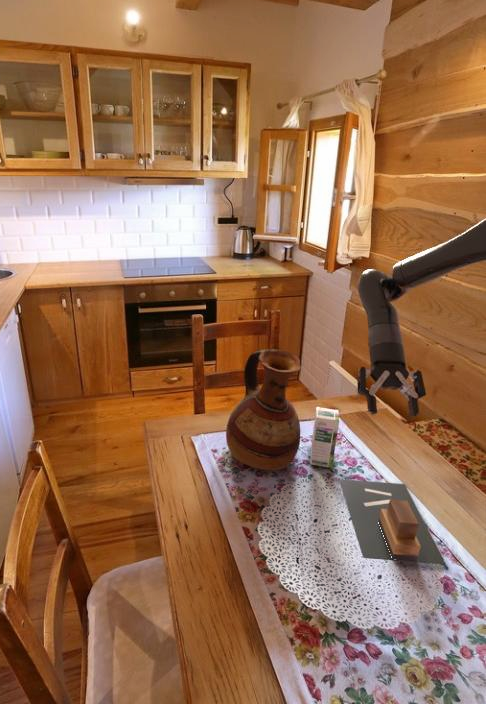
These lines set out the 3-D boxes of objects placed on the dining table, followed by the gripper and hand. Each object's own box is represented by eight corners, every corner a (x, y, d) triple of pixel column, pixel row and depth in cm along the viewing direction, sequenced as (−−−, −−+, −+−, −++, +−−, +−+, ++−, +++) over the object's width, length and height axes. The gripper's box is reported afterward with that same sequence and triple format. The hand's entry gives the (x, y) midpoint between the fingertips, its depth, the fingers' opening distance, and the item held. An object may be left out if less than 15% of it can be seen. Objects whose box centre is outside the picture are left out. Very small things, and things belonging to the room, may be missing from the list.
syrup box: (309, 464, 107) (316, 417, 102) (310, 451, 112) (316, 405, 107) (331, 469, 105) (339, 421, 100) (331, 454, 111) (338, 408, 106)
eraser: (400, 524, 88) (407, 495, 85) (416, 561, 80) (425, 530, 77) (377, 523, 88) (384, 493, 86) (392, 559, 80) (399, 528, 77)
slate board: (403, 486, 100) (404, 484, 100) (445, 567, 80) (446, 564, 79) (338, 481, 101) (339, 479, 101) (362, 560, 80) (363, 557, 80)
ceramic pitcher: (261, 490, 97) (271, 379, 87) (209, 447, 112) (213, 348, 102) (313, 458, 109) (327, 357, 99) (260, 423, 124) (267, 332, 113)
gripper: (360, 338, 93) (366, 409, 86) (423, 342, 92) (434, 413, 85) (351, 350, 99) (356, 416, 93) (410, 354, 99) (419, 421, 92)
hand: (393, 415), depth 89 cm, fingers open, 8 cm apart
